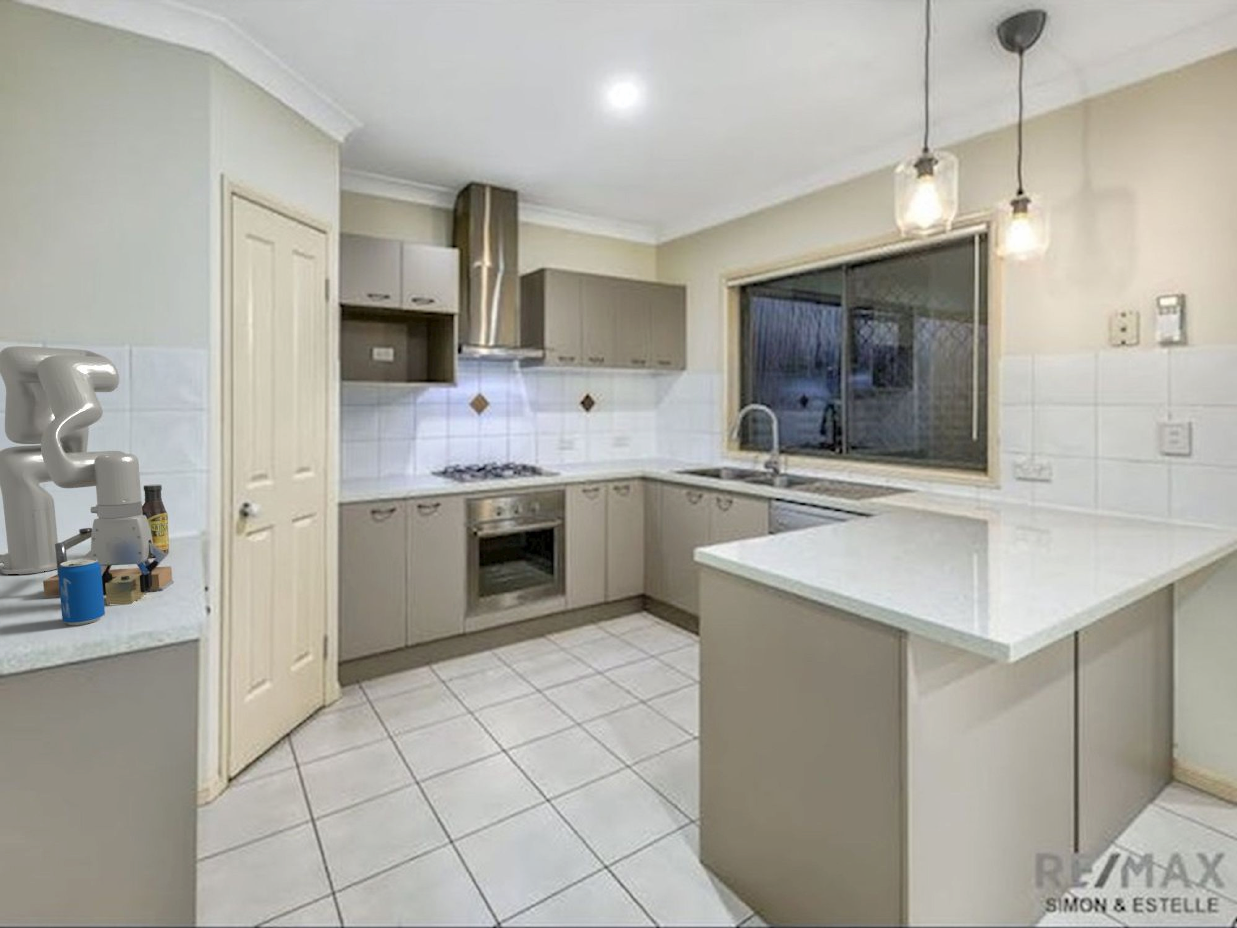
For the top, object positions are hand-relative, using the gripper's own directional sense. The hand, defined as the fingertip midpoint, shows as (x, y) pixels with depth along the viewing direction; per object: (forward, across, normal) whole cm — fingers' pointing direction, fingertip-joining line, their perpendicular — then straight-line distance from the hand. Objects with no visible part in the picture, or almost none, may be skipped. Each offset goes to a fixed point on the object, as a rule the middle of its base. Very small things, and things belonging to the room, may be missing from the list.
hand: (127, 591), depth 140 cm
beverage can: (+2, -2, -13) cm, 13 cm away
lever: (-2, -17, +16) cm, 23 cm away
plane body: (+2, -7, +9) cm, 12 cm away
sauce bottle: (+2, -11, +43) cm, 44 cm away
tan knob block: (+2, 0, 0) cm, 2 cm away
